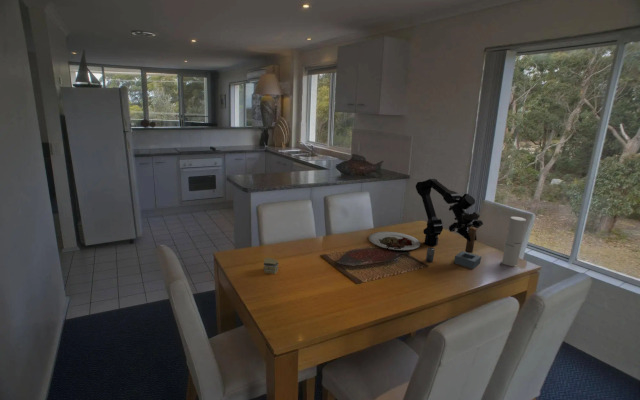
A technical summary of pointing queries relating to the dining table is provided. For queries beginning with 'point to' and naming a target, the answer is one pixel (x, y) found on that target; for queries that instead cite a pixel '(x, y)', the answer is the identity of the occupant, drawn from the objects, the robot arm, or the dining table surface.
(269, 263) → the grey lidded box
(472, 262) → the hole block
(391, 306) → the dining table surface
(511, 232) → the cylindrical container
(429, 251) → the short grey pin
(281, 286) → the dining table surface
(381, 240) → the plated food
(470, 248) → the tall walnut pin
